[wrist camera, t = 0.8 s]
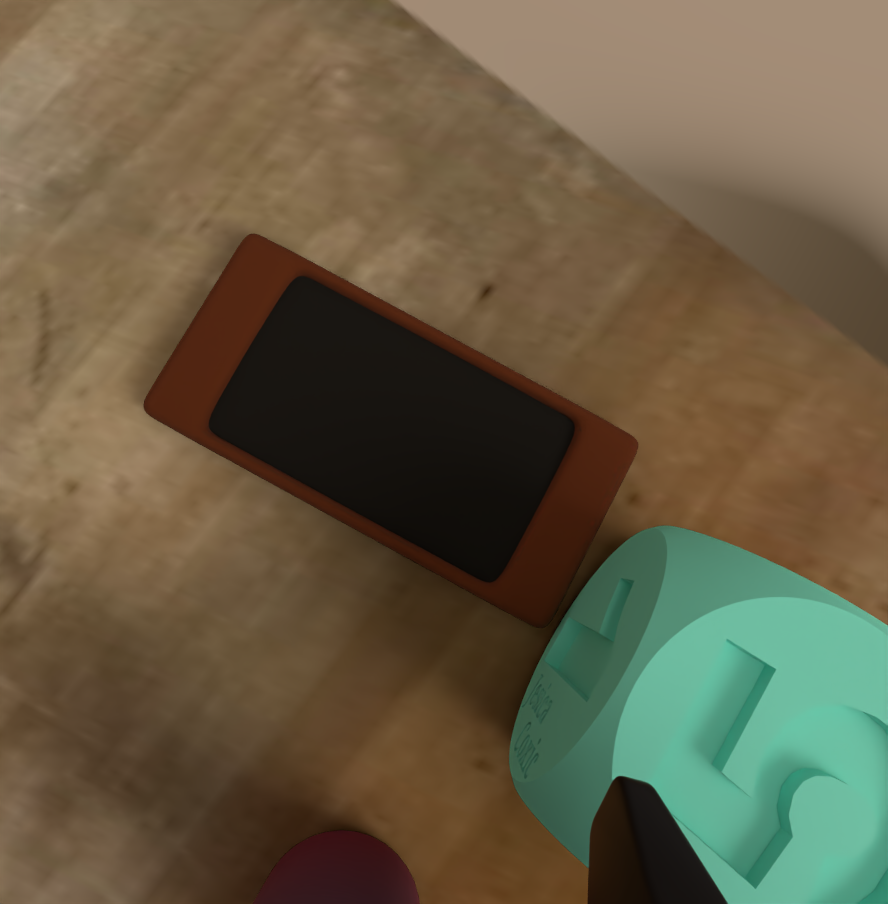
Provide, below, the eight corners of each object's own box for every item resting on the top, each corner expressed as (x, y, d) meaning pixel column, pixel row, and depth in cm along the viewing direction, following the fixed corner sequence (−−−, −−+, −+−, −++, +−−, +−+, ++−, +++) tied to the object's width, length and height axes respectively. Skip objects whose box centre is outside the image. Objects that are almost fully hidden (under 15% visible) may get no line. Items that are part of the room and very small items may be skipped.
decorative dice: (615, 523, 24) (716, 517, 16) (824, 652, 23) (1034, 712, 15) (491, 738, 23) (531, 847, 15) (707, 874, 22) (866, 1060, 14)
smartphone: (637, 443, 24) (253, 236, 25) (646, 439, 23) (247, 223, 24) (542, 631, 23) (144, 413, 24) (547, 635, 22) (133, 408, 23)
